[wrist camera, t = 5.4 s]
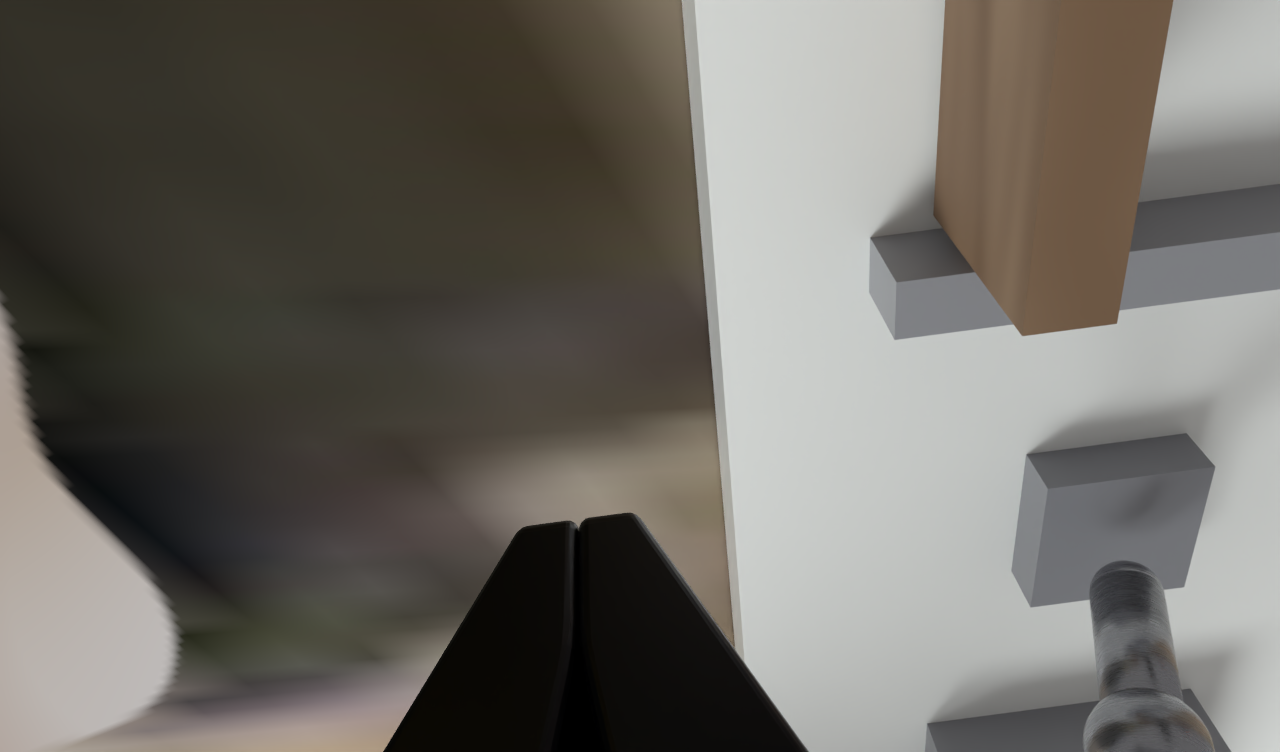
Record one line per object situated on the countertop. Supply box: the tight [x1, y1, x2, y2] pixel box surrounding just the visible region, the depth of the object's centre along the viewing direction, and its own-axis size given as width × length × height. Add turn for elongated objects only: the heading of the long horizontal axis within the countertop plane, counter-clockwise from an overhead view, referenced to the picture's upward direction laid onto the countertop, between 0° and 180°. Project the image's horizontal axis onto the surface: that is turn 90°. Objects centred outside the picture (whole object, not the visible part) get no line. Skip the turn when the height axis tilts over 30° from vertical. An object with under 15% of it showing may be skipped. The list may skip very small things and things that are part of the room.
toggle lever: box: [1083, 560, 1215, 752], centre depth 17 cm, size 2×2×5 cm
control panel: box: [682, 0, 1280, 752], centre depth 20 cm, size 14×25×4 cm, turn 6°
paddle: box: [933, 0, 1173, 336], centre depth 13 cm, size 1×4×4 cm, turn 6°
